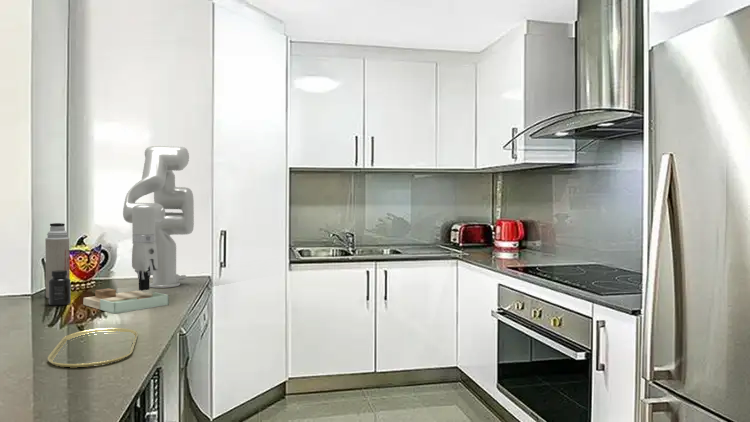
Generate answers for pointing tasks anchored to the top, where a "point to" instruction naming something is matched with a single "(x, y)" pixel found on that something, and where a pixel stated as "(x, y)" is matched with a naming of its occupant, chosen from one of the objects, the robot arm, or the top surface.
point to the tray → (134, 303)
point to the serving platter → (68, 337)
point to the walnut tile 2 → (105, 293)
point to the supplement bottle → (59, 288)
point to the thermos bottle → (56, 252)
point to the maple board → (114, 298)
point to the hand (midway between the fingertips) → (144, 289)
